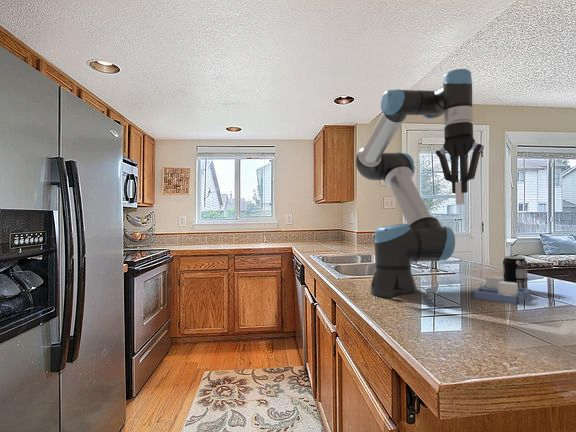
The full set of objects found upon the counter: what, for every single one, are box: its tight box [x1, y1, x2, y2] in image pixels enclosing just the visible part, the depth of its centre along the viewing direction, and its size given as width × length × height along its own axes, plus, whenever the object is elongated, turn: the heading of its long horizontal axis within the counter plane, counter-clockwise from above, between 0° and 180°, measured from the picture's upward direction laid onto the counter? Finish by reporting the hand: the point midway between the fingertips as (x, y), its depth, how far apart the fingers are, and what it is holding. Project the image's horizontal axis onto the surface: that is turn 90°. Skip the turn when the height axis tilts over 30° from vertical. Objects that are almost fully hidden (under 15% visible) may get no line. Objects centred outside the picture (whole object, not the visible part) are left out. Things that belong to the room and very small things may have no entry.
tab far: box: [485, 275, 504, 289], centre depth 106 cm, size 4×4×5 cm
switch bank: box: [471, 284, 531, 305], centre depth 102 cm, size 12×14×3 cm
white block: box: [498, 281, 518, 296], centre depth 97 cm, size 4×4×5 cm
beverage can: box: [502, 255, 529, 289], centre depth 111 cm, size 7×7×12 cm
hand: (460, 204), depth 99 cm, fingers closed
